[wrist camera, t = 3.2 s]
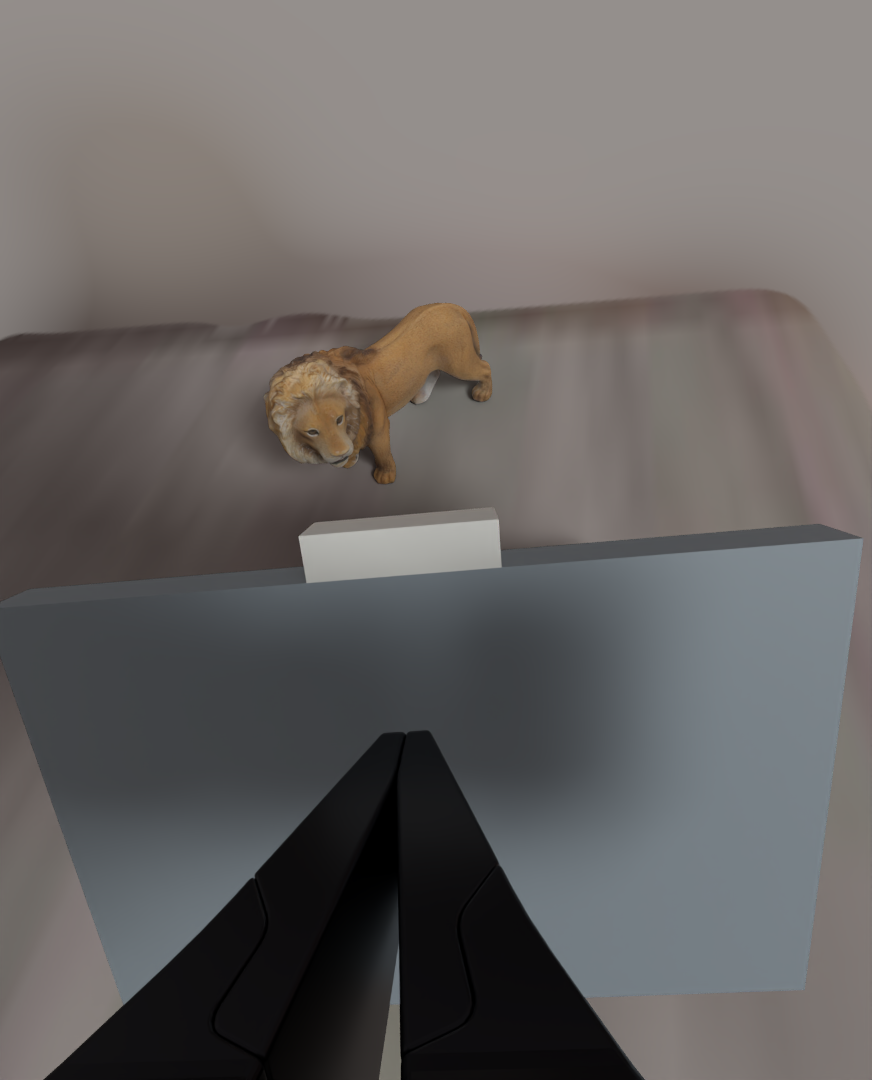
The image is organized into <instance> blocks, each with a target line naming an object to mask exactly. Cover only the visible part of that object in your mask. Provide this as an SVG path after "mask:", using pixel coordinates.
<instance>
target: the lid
mask: <svg viewBox="0 0 872 1080" xmlns="http://www.w3.org/2000/svg"><path fill="white" fill-rule="evenodd" d="M299 542H300V548H301V554H302V560H303V567H291V568H279V569H267V570H255V571H243V572H230V573H218V574H206V575H194V576H182V577H170V578H158V579H145V580H133V581H121V582H109V583H97V584H85V585H73V586H61V587H48V588H36V589H28V590H26V591H24V592H21V593H19V594H17V595H15V596H12V597H10V598H8V599H6V600H3V601H1V602H0V657H1V660H2V663H3V666H4V668H5V671H6V674H7V677H8V680H9V682H10V685H11V688H12V691H13V694H14V697H15V699H16V702H17V705H18V708H19V711H20V714H21V716H22V719H23V722H24V725H25V728H26V731H27V733H28V736H29V739H30V742H31V745H32V747H33V750H34V753H35V756H36V759H37V762H38V764H39V767H40V770H41V773H42V776H43V779H44V781H45V784H46V787H47V790H48V793H49V796H50V798H51V801H52V804H53V807H54V810H55V812H56V815H57V818H58V821H59V824H60V827H61V829H62V832H63V835H64V838H65V841H66V844H67V846H68V849H69V852H70V855H71V858H72V860H73V863H74V866H75V869H76V872H77V875H78V877H79V880H80V883H81V886H82V889H83V892H84V894H85V897H86V900H87V903H88V906H89V909H90V911H91V914H92V917H93V920H94V923H95V925H96V928H97V931H98V934H99V937H100V940H101V942H102V945H103V948H104V951H105V954H106V957H107V959H108V962H109V965H110V968H111V971H112V974H113V976H114V979H115V982H116V985H117V988H118V990H119V993H120V996H121V999H122V1002H123V1005H124V1004H125V1003H126V1002H127V1001H129V1000H130V999H131V998H132V997H133V996H134V995H135V994H136V993H137V992H138V991H139V990H140V989H141V988H142V987H143V986H144V985H146V984H147V983H148V982H149V981H150V980H151V979H152V978H153V977H154V976H155V975H156V974H157V973H158V972H159V971H160V970H162V969H163V968H164V967H165V966H166V965H167V964H168V963H169V962H170V961H171V960H172V959H173V958H174V957H175V956H176V955H177V954H178V953H179V952H180V951H181V950H182V949H183V948H184V947H185V946H186V945H187V944H188V943H189V942H190V941H191V940H192V939H193V938H194V937H195V936H196V935H198V934H199V933H200V932H201V931H202V930H203V928H204V927H205V926H206V925H207V924H208V923H209V922H210V921H211V920H212V919H213V918H214V917H215V916H216V915H217V914H218V913H219V912H220V911H221V909H222V908H223V907H224V906H225V905H226V904H227V903H228V902H229V901H230V900H231V899H232V898H233V897H234V896H235V895H236V893H237V892H238V891H239V890H240V889H241V888H242V887H243V886H244V885H245V884H246V882H247V881H248V880H249V879H250V878H254V875H255V873H256V872H257V871H258V870H259V868H260V867H261V866H262V865H263V864H264V863H265V862H266V861H267V860H268V858H269V857H270V856H271V855H272V854H273V853H274V852H275V851H276V850H277V849H278V847H279V846H280V845H281V844H282V843H283V842H284V841H285V840H286V839H287V838H288V836H289V835H290V834H291V833H292V832H293V831H294V830H295V829H296V828H297V827H298V825H299V824H300V823H301V822H302V821H303V820H304V819H305V818H306V817H307V816H308V814H309V813H310V812H311V811H312V810H313V809H314V808H315V807H316V806H317V804H318V803H319V802H320V801H321V800H322V799H323V798H324V797H325V796H326V795H327V793H328V792H329V791H330V790H331V789H332V788H333V787H334V786H335V785H336V784H337V782H338V781H339V780H340V779H341V778H342V777H343V776H344V775H345V774H346V773H347V771H348V770H349V769H350V768H351V767H352V766H353V765H354V764H355V763H356V762H357V760H358V759H359V758H360V757H361V756H362V755H363V754H364V753H365V752H366V750H367V749H368V748H369V747H370V746H371V745H372V744H373V743H374V742H375V741H376V739H377V738H378V737H379V736H380V735H381V734H383V733H389V732H404V733H405V734H407V733H408V732H409V731H420V730H429V731H430V732H431V733H432V735H433V737H434V739H435V741H436V743H437V745H438V747H439V749H440V751H441V752H442V754H443V756H444V758H445V760H446V762H447V764H448V766H449V768H450V770H451V772H452V773H453V775H454V777H455V779H456V781H457V783H458V785H459V787H460V789H461V791H462V793H463V794H464V796H465V798H466V800H467V802H468V804H469V806H470V808H471V810H472V812H473V814H474V815H475V817H476V819H477V821H478V823H479V825H480V827H481V829H482V831H483V833H484V835H485V836H486V838H487V840H488V842H489V844H490V846H491V848H492V850H493V852H494V854H495V856H496V857H497V859H498V861H499V864H500V866H501V867H502V868H503V870H504V872H505V874H506V876H507V878H508V880H509V882H510V884H511V885H512V887H513V889H514V891H515V893H516V894H517V896H518V898H519V900H520V901H521V903H522V905H523V907H524V908H525V910H526V912H527V914H528V915H529V917H530V919H531V920H532V922H533V923H534V925H535V926H536V928H537V929H538V931H539V932H540V934H541V935H542V937H543V938H544V940H545V941H546V943H547V944H548V946H549V947H550V949H551V950H552V952H553V953H554V955H555V956H556V958H557V959H558V961H559V962H560V963H561V965H562V966H563V968H564V969H565V970H566V972H567V973H568V975H569V976H570V977H571V979H572V980H573V982H574V983H575V984H576V986H577V987H578V989H579V990H580V992H581V993H582V994H583V996H584V997H585V998H588V997H617V996H645V995H673V994H702V993H730V992H759V991H787V990H805V983H806V975H807V967H808V960H809V952H810V944H811V937H812V929H813V921H814V914H815V906H816V898H817V891H818V883H819V875H820V868H821V860H822V852H823V845H824V837H825V829H826V822H827V814H828V806H829V799H830V791H831V783H832V776H833V768H834V760H835V753H836V745H837V737H838V730H839V722H840V714H841V707H842V699H843V692H844V684H845V676H846V669H847V661H848V653H849V646H850V638H851V630H852V623H853V615H854V607H855V600H856V592H857V584H858V577H859V569H860V561H861V554H862V546H863V538H861V537H858V536H855V535H852V534H849V533H846V532H843V531H840V530H837V529H834V528H831V527H828V526H825V525H822V524H813V525H801V526H789V527H777V528H764V529H752V530H740V531H728V532H716V533H704V534H692V535H679V536H667V537H655V538H643V539H631V540H619V541H607V542H595V543H582V544H570V545H558V546H546V547H534V548H522V549H510V550H501V549H500V534H499V519H498V517H497V514H496V512H495V509H494V507H487V508H476V509H464V510H453V511H441V512H430V513H418V514H407V515H395V516H384V517H372V518H361V519H349V520H338V521H326V522H315V523H313V524H312V525H311V526H310V527H309V528H307V529H306V530H305V531H304V532H303V533H302V534H301V535H299ZM254 879H255V878H254ZM390 1004H400V986H399V945H398V952H397V959H396V966H395V972H394V979H393V986H392V993H391V999H390Z"/></svg>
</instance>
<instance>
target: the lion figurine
mask: <svg viewBox="0 0 872 1080" xmlns="http://www.w3.org/2000/svg"><path fill="white" fill-rule="evenodd" d="M481 359H482V355H481V354H480V347H479V340H478V335H477V331H476V327H475V324H474V322H473V320H472V318H471V316H470V315H469V313H468V312H467V311H466V310H465V309H464V308H462V307H460V306H458V305H455V304H451V303H434V304H428V305H424V306H420V307H417V308H415V309H413V310H412V311H411V312H409V313H408V314H407V315H406V316H405V317H404V318H403V320H402V321H401V322H400V323H399V324H398V325H397V326H396V327H395V328H394V329H393V330H391V331H390V332H389V333H388V334H387V335H385V336H384V337H383V338H381V339H380V340H379V341H377V342H376V343H374V344H373V345H371V346H369V347H368V348H366V349H365V350H359V349H356V348H354V347H349V346H343V347H340V348H337V349H336V348H333V349H330V350H329V351H324V350H321V351H319V352H316V351H314V352H312V353H311V355H310V354H304V355H303V356H302V357H297V358H295V359H294V360H292V361H291V362H290V364H288V365H286V366H284V367H282V368H281V369H280V370H279V371H278V372H277V373H275V374H274V376H273V377H272V378H271V379H270V383H269V384H270V391H269V392H267V393H266V394H265V395H264V401H265V402H266V403H265V404H266V414H267V418H268V425H269V429H271V430H272V431H273V432H274V433H275V434H276V435H277V436H278V437H279V440H280V442H281V443H282V446H283V448H284V449H285V451H286V452H287V453H288V454H289V455H290V456H291V457H292V458H293V459H294V460H296V461H299V462H300V463H312V464H322V463H330V464H331V465H332V466H334V467H344V468H350V467H352V466H353V465H354V464H355V463H356V462H357V460H358V457H359V451H360V449H362V450H363V449H364V448H365V447H366V446H368V447H369V448H370V450H371V451H372V453H373V454H374V456H375V464H376V466H377V467H376V469H375V472H374V478H375V479H376V480H377V482H378V483H380V484H388V483H393V482H394V480H395V477H396V465H395V462H394V460H393V457H392V454H391V451H390V437H389V428H390V422H389V419H388V417H389V416H391V415H392V414H394V413H395V412H397V411H398V410H400V409H401V408H403V407H404V406H405V405H406V404H407V403H408V402H409V401H411V402H413V403H414V404H420V403H423V402H425V401H426V400H427V399H428V398H429V396H430V394H431V391H432V389H433V387H434V385H435V383H436V381H437V379H438V377H439V376H440V370H441V371H444V372H446V373H447V374H449V375H451V376H453V377H455V378H458V379H460V380H472V381H476V380H478V381H479V383H478V384H477V385H476V386H475V387H474V388H473V389H472V396H473V399H474V400H477V401H480V402H483V401H487V400H488V399H489V398H490V396H491V394H492V380H491V370H490V366H489V364H488V363H487V362H486V361H484V360H481Z"/></svg>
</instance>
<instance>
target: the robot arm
mask: <svg viewBox="0 0 872 1080" xmlns="http://www.w3.org/2000/svg"><path fill="white" fill-rule="evenodd" d="M254 878H255V879H254ZM254 878H250V879H249V880H248V881H247V882H246V884H245V885H244V886H243V887H242V888H241V889H240V890H239V891H238V892H237V893H236V895H235V896H234V897H233V898H232V899H231V900H230V901H229V902H228V903H227V904H226V905H225V906H224V907H223V908H222V909H221V911H220V912H219V913H218V914H217V915H216V916H215V917H214V918H213V919H212V920H211V921H210V922H209V923H208V924H207V925H206V926H205V927H204V928H203V930H202V931H201V932H200V933H199V934H198V935H196V936H195V937H194V938H193V939H192V940H191V941H190V942H189V943H188V944H187V945H186V946H185V947H184V948H183V949H182V950H181V951H180V952H179V953H178V954H177V955H176V956H175V957H174V958H173V959H172V960H171V961H170V962H169V963H168V964H167V965H166V966H165V967H164V968H163V969H162V970H160V971H159V972H158V973H157V974H156V975H155V976H154V977H153V978H152V979H151V980H150V981H149V982H148V983H147V984H146V985H144V986H143V987H142V988H141V989H140V990H139V991H138V992H137V993H136V994H135V995H134V996H133V997H132V998H131V999H130V1000H129V1001H127V1002H126V1003H125V1004H124V1005H123V1006H122V1007H121V1008H120V1009H119V1010H118V1011H117V1012H116V1013H115V1014H114V1015H113V1016H112V1017H110V1018H109V1019H108V1020H107V1021H106V1022H105V1023H104V1024H103V1025H102V1026H101V1027H100V1028H99V1029H98V1030H97V1031H96V1032H95V1033H93V1034H92V1035H91V1036H90V1037H89V1038H88V1039H87V1040H86V1041H85V1042H84V1043H83V1044H82V1045H81V1046H80V1047H79V1048H77V1049H76V1050H75V1051H74V1052H73V1053H72V1054H71V1055H70V1056H69V1057H68V1058H67V1059H66V1060H65V1061H64V1062H63V1063H62V1064H60V1065H59V1066H58V1067H57V1068H56V1069H55V1070H54V1071H53V1072H51V1073H50V1074H49V1075H48V1076H47V1077H46V1078H45V1079H44V1080H379V1074H380V1067H381V1060H382V1053H383V1047H384V1040H385V1033H386V1026H387V1020H388V1013H389V1006H390V999H391V993H392V986H393V979H394V972H395V966H396V959H397V952H398V945H399V986H400V1048H401V1080H645V1079H644V1078H643V1077H642V1076H641V1074H640V1073H639V1072H638V1071H637V1069H636V1068H635V1067H634V1065H633V1064H632V1063H631V1061H630V1060H629V1059H628V1057H627V1056H626V1055H625V1053H624V1052H623V1051H622V1049H621V1048H620V1046H619V1045H618V1044H617V1042H616V1041H615V1039H614V1038H613V1037H612V1035H611V1034H610V1032H609V1031H608V1030H607V1028H606V1027H605V1025H604V1024H603V1023H602V1021H601V1020H600V1018H599V1017H598V1015H597V1014H596V1013H595V1011H594V1010H593V1008H592V1007H591V1006H590V1004H589V1003H588V1001H587V1000H586V999H585V997H584V996H583V994H582V993H581V992H580V990H579V989H578V987H577V986H576V984H575V983H574V982H573V980H572V979H571V977H570V976H569V975H568V973H567V972H566V970H565V969H564V968H563V966H562V965H561V963H560V962H559V961H558V959H557V958H556V956H555V955H554V953H553V952H552V950H551V949H550V947H549V946H548V944H547V943H546V941H545V940H544V938H543V937H542V935H541V934H540V932H539V931H538V929H537V928H536V926H535V925H534V923H533V922H532V920H531V919H530V917H529V915H528V914H527V912H526V910H525V908H524V907H523V905H522V903H521V901H520V900H519V898H518V896H517V894H516V893H515V891H514V889H513V887H512V885H511V884H510V882H509V880H508V878H507V876H506V874H505V872H504V870H503V868H502V867H501V866H500V864H499V861H498V859H497V857H496V856H495V854H494V852H493V850H492V848H491V846H490V844H489V842H488V840H487V838H486V836H485V835H484V833H483V831H482V829H481V827H480V825H479V823H478V821H477V819H476V817H475V815H474V814H473V812H472V810H471V808H470V806H469V804H468V802H467V800H466V798H465V796H464V794H463V793H462V791H461V789H460V787H459V785H458V783H457V781H456V779H455V777H454V775H453V773H452V772H451V770H450V768H449V766H448V764H447V762H446V760H445V758H444V756H443V754H442V752H441V751H440V749H439V747H438V745H437V743H436V741H435V739H434V737H433V735H432V733H431V732H430V731H429V730H420V731H409V732H408V733H407V734H405V733H404V732H389V733H383V734H381V735H380V736H379V737H378V738H377V739H376V741H375V742H374V743H373V744H372V745H371V746H370V747H369V748H368V749H367V750H366V752H365V753H364V754H363V755H362V756H361V757H360V758H359V759H358V760H357V762H356V763H355V764H354V765H353V766H352V767H351V768H350V769H349V770H348V771H347V773H346V774H345V775H344V776H343V777H342V778H341V779H340V780H339V781H338V782H337V784H336V785H335V786H334V787H333V788H332V789H331V790H330V791H329V792H328V793H327V795H326V796H325V797H324V798H323V799H322V800H321V801H320V802H319V803H318V804H317V806H316V807H315V808H314V809H313V810H312V811H311V812H310V813H309V814H308V816H307V817H306V818H305V819H304V820H303V821H302V822H301V823H300V824H299V825H298V827H297V828H296V829H295V830H294V831H293V832H292V833H291V834H290V835H289V836H288V838H287V839H286V840H285V841H284V842H283V843H282V844H281V845H280V846H279V847H278V849H277V850H276V851H275V852H274V853H273V854H272V855H271V856H270V857H269V858H268V860H267V861H266V862H265V863H264V864H263V865H262V866H261V867H260V868H259V870H258V871H257V872H256V873H255V875H254Z"/></svg>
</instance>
